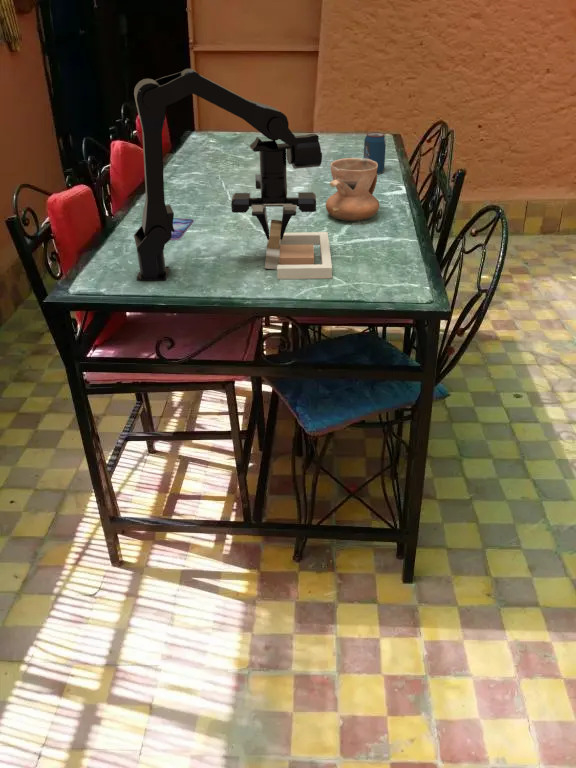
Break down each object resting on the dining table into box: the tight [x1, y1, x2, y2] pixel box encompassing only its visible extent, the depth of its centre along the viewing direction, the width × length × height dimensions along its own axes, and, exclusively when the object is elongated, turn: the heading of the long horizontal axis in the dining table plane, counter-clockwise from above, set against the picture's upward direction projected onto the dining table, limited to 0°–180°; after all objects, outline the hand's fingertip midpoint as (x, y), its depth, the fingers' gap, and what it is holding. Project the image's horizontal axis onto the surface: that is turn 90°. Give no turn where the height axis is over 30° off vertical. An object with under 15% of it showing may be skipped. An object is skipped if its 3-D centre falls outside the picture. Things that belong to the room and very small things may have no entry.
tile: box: [278, 245, 315, 265], centre depth 149 cm, size 8×8×2 cm
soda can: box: [363, 131, 387, 175], centre depth 206 cm, size 7×7×12 cm
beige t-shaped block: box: [264, 219, 282, 271], centre depth 147 cm, size 12×3×9 cm, turn 179°
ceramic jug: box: [325, 157, 380, 222], centre depth 170 cm, size 18×14×14 cm
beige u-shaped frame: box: [276, 231, 333, 280], centre depth 149 cm, size 12×22×2 cm, turn 0°
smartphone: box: [169, 217, 195, 241], centre depth 167 cm, size 7×1×15 cm
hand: (274, 239), depth 147 cm, fingers closed on beige t-shaped block, 3 cm apart
